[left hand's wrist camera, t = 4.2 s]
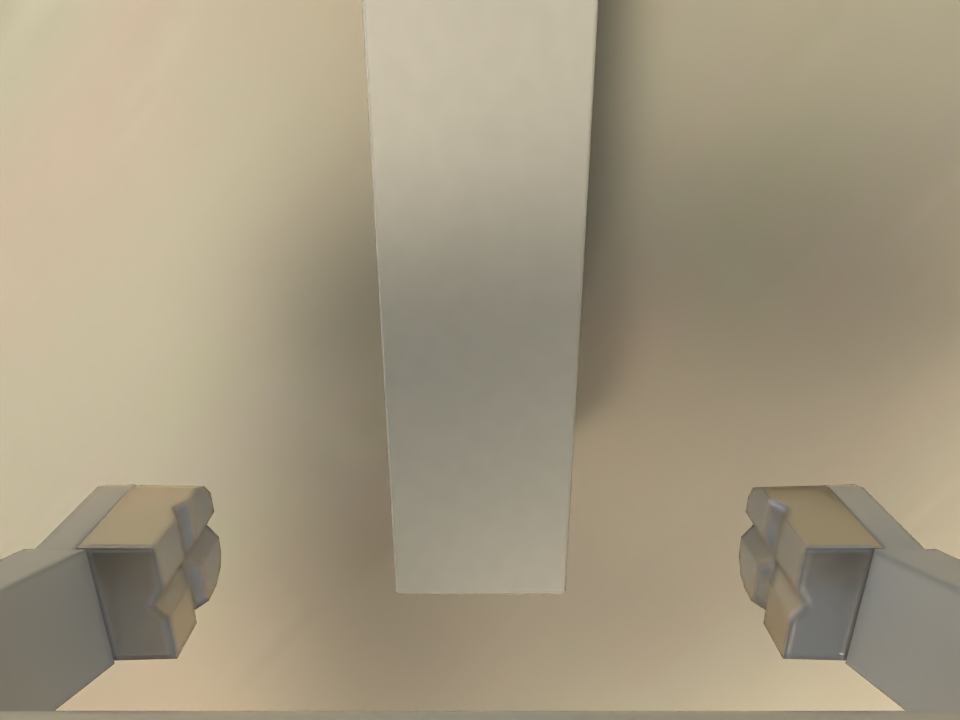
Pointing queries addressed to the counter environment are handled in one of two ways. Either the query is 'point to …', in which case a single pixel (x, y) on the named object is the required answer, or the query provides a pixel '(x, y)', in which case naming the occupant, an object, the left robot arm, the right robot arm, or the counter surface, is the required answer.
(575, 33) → the post
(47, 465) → the counter surface
